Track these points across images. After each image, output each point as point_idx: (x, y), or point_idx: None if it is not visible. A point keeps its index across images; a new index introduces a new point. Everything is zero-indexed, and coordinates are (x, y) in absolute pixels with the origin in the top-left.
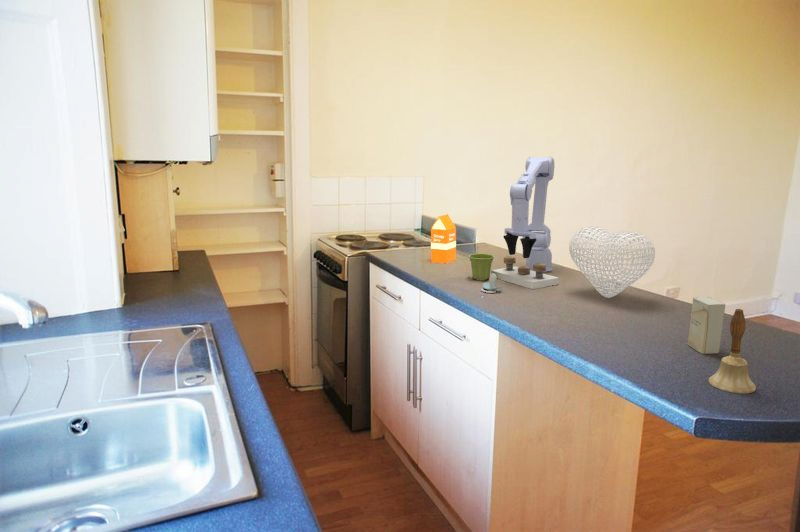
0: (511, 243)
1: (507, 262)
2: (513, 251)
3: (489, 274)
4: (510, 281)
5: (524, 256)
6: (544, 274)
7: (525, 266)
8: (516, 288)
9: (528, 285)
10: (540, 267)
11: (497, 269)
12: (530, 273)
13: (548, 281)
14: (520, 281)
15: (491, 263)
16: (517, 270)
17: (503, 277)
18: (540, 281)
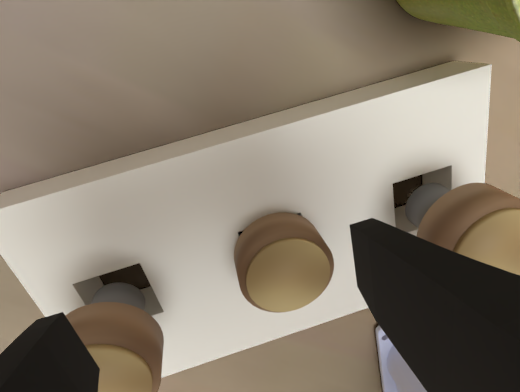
0: (486, 383)
1: (447, 202)
2: (375, 294)
3: (414, 2)
4: (245, 124)
5: (17, 339)
6: (212, 352)
7: (313, 297)
8: (47, 86)
9: (43, 185)
10: None
11: (481, 125)
12: None
13: None
14: (131, 162)
15: (487, 18)
16: None
17: (327, 103)
18: (21, 277)
